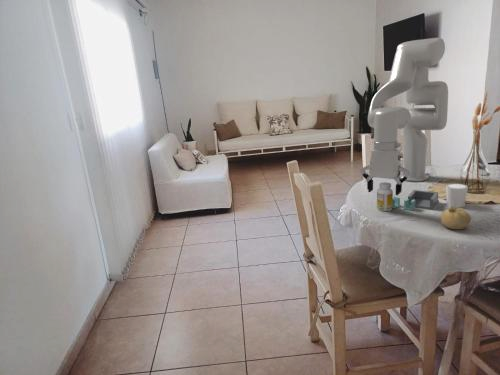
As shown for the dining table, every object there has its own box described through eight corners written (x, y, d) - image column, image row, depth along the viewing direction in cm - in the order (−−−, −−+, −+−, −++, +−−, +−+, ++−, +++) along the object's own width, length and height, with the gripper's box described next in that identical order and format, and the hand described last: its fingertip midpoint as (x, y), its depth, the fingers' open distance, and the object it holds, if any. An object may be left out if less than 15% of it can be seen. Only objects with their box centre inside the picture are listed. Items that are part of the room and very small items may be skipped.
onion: (445, 220, 116) (446, 200, 114) (472, 225, 111) (474, 204, 109) (436, 229, 111) (438, 207, 109) (465, 234, 106) (467, 212, 104)
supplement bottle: (391, 206, 132) (392, 181, 130) (393, 211, 127) (394, 185, 125) (376, 206, 134) (376, 181, 131) (377, 211, 129) (377, 186, 126)
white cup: (464, 201, 130) (465, 183, 128) (468, 208, 124) (470, 189, 122) (443, 201, 133) (444, 183, 131) (446, 207, 127) (447, 188, 125)
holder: (412, 198, 138) (413, 189, 136) (438, 201, 132) (439, 192, 131) (406, 206, 131) (406, 196, 130) (433, 209, 125) (434, 199, 124)
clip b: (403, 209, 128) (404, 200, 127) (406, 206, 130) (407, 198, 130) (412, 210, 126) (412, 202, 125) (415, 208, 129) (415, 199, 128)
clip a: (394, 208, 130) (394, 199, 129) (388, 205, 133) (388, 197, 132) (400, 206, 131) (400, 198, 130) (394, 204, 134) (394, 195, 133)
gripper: (414, 145, 121) (411, 192, 126) (364, 143, 132) (364, 187, 136) (408, 149, 116) (406, 198, 120) (357, 147, 126) (356, 192, 131)
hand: (383, 192), depth 128 cm, fingers open, 9 cm apart
